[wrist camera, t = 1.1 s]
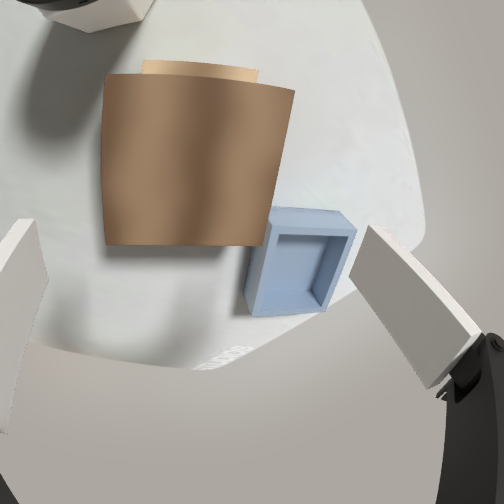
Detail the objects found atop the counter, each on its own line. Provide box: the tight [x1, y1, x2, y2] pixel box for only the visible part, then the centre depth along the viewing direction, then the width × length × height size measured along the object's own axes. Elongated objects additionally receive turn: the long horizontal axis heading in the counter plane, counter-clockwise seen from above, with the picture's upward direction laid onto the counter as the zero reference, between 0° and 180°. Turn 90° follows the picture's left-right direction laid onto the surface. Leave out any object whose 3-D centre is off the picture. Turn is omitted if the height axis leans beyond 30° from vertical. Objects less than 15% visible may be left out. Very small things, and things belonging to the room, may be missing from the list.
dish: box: [243, 206, 357, 317], centre depth 32 cm, size 9×11×4 cm
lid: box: [101, 74, 295, 246], centre depth 20 cm, size 12×12×2 cm
